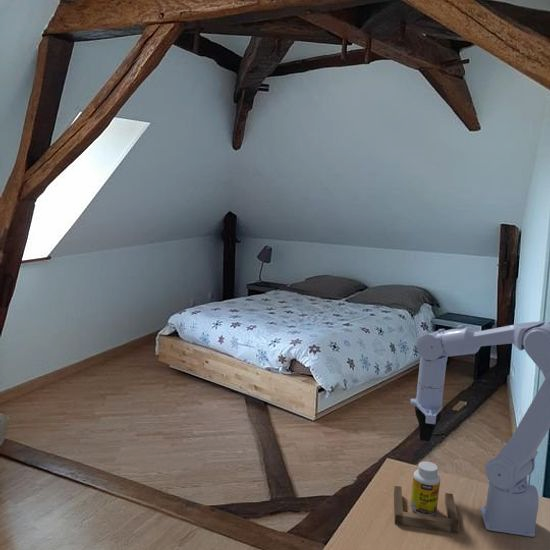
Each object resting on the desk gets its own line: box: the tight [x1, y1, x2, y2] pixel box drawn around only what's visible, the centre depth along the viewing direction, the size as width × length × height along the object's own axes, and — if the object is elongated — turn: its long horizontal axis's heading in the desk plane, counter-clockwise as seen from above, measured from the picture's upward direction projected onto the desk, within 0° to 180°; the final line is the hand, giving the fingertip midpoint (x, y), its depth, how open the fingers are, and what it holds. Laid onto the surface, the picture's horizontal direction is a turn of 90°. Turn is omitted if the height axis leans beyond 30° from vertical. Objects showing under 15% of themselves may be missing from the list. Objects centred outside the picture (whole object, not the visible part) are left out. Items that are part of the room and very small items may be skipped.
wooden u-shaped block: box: [393, 485, 460, 534], centre depth 121 cm, size 12×11×2 cm
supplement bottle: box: [409, 461, 441, 516], centre depth 122 cm, size 6×6×10 cm
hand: (424, 439), depth 132 cm, fingers closed
